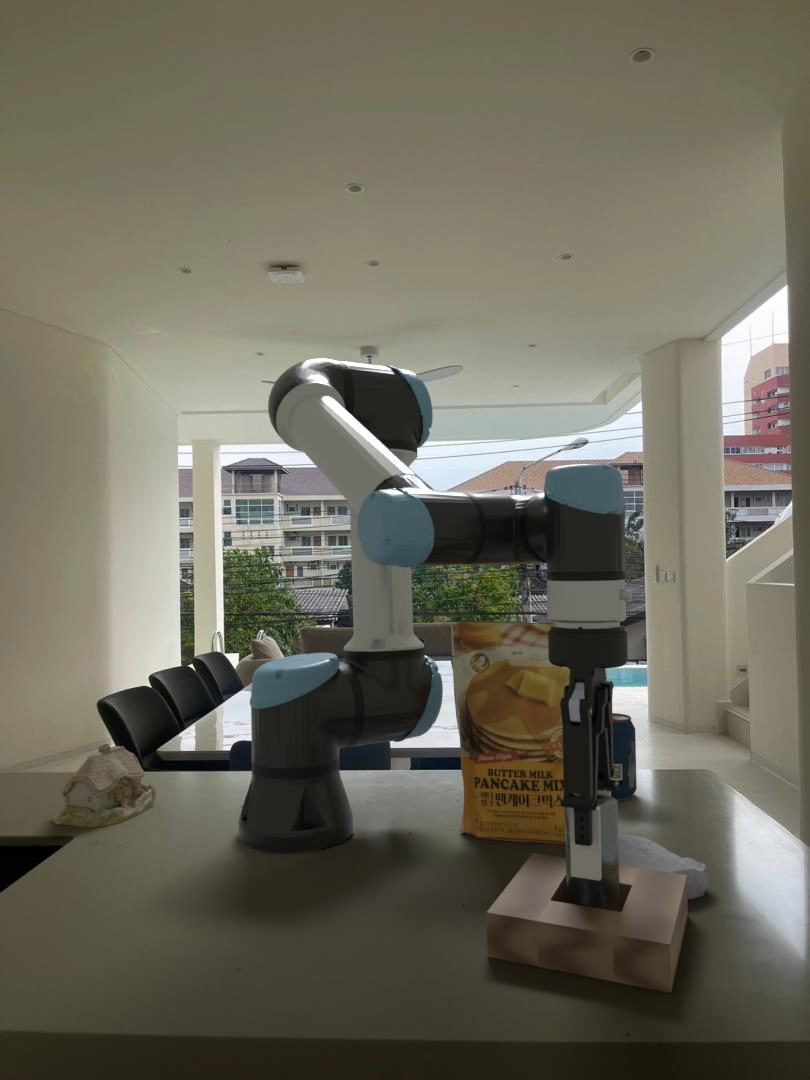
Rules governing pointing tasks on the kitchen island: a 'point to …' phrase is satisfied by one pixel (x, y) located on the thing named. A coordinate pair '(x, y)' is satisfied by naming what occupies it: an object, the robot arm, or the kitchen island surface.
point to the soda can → (624, 757)
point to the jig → (592, 925)
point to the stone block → (662, 862)
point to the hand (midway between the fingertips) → (592, 865)
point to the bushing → (610, 882)
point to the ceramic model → (106, 790)
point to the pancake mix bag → (509, 730)
